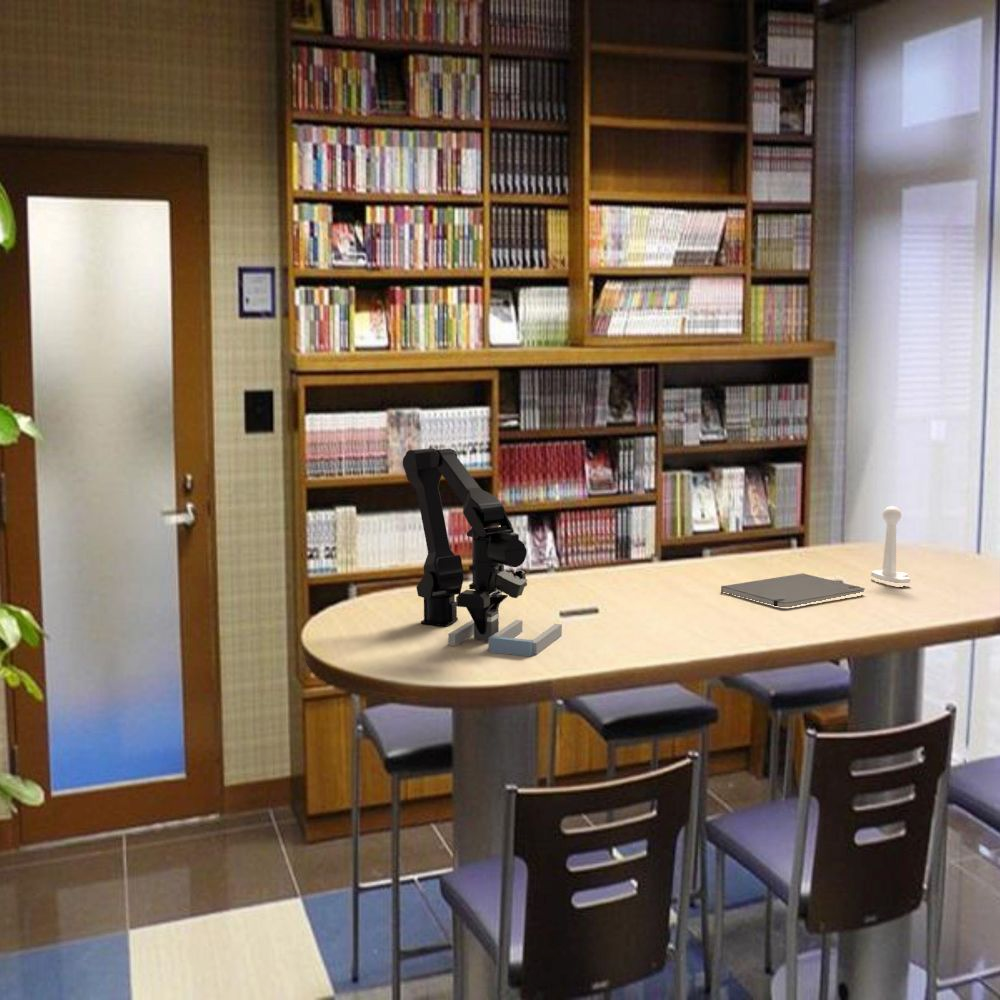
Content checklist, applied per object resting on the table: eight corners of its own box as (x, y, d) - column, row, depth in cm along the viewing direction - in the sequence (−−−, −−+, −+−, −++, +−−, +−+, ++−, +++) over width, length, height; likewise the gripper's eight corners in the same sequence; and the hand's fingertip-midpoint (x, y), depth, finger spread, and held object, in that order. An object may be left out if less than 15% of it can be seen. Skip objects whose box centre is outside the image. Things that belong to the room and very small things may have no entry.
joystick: (867, 579, 316) (870, 503, 313) (890, 577, 319) (893, 501, 316) (896, 588, 306) (900, 510, 303) (920, 585, 309) (924, 508, 306)
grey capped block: (473, 640, 259) (473, 612, 258) (481, 635, 262) (481, 608, 261) (491, 641, 257) (491, 614, 256) (498, 637, 261) (498, 609, 260)
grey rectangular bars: (445, 647, 253) (445, 633, 252) (477, 627, 269) (477, 614, 268) (533, 656, 246) (534, 642, 245) (561, 635, 262) (561, 622, 261)
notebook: (802, 581, 317) (720, 594, 302) (802, 572, 317) (721, 585, 302) (867, 597, 299) (783, 612, 284) (867, 588, 299) (784, 602, 284)
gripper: (505, 571, 246) (505, 646, 248) (536, 554, 263) (536, 624, 265) (454, 567, 250) (455, 641, 252) (489, 550, 267) (489, 620, 269)
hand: (486, 631), depth 259 cm, fingers closed on grey capped block, 4 cm apart
